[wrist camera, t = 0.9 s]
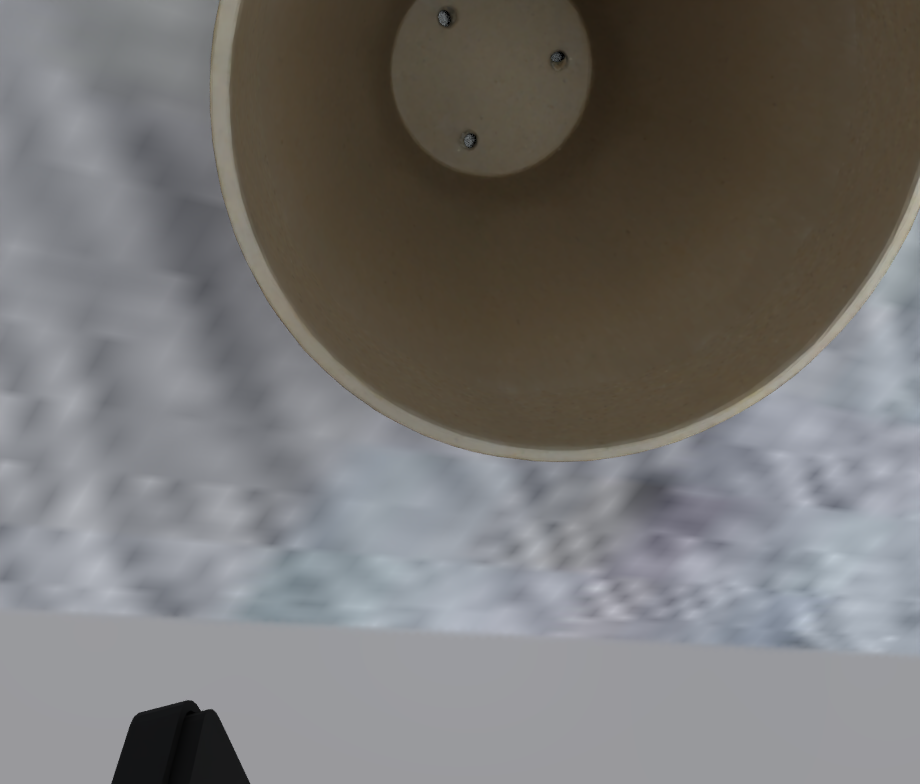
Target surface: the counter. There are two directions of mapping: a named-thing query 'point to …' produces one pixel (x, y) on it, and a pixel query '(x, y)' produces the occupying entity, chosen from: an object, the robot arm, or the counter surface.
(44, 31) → the counter surface
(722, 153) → the plant pot
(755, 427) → the counter surface
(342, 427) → the counter surface
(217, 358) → the counter surface
